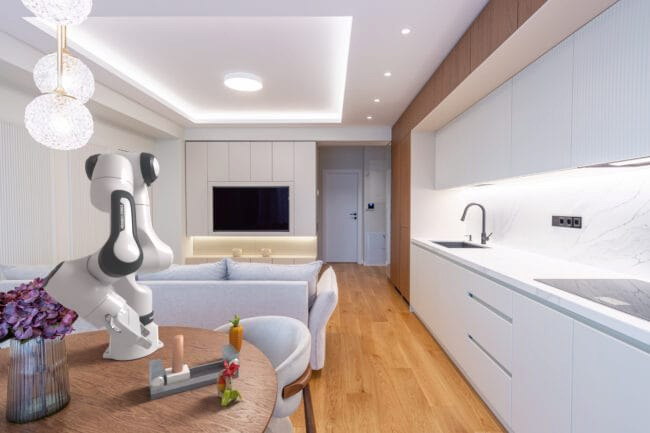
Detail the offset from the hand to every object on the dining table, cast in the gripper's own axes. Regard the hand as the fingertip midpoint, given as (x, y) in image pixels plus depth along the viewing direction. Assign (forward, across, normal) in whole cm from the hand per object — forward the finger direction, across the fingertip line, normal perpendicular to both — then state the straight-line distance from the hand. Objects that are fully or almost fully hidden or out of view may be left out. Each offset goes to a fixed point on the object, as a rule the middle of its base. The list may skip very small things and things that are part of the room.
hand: (149, 340), depth 89 cm
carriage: (+15, 0, +4) cm, 15 cm away
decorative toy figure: (+24, -14, -2) cm, 27 cm away
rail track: (+20, 0, +2) cm, 20 cm away
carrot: (+30, +9, -8) cm, 33 cm away
